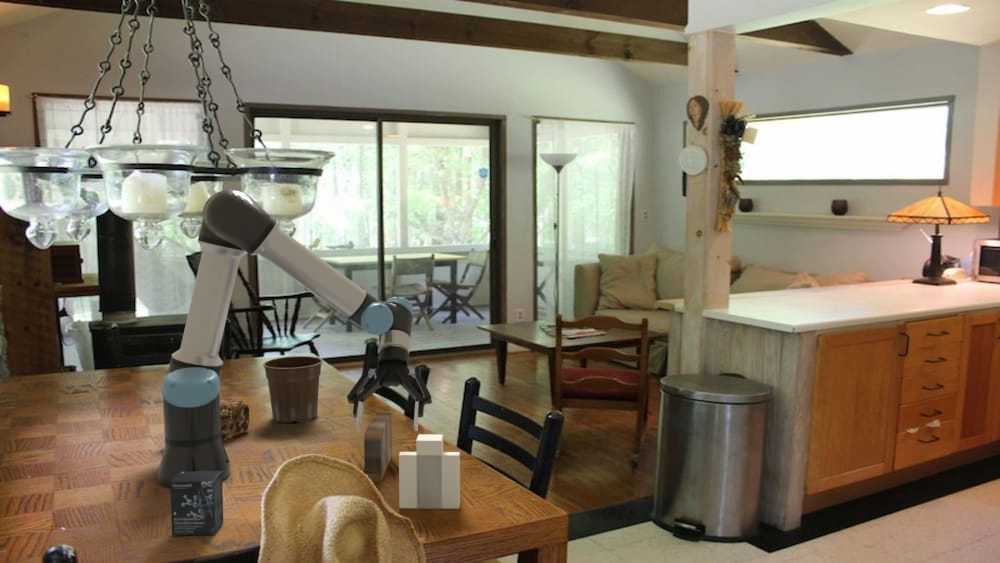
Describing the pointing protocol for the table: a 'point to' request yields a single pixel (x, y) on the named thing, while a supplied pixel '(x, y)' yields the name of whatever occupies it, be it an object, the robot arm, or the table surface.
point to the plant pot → (293, 387)
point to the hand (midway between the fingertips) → (386, 428)
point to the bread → (233, 417)
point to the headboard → (429, 475)
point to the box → (196, 503)
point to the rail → (378, 446)
